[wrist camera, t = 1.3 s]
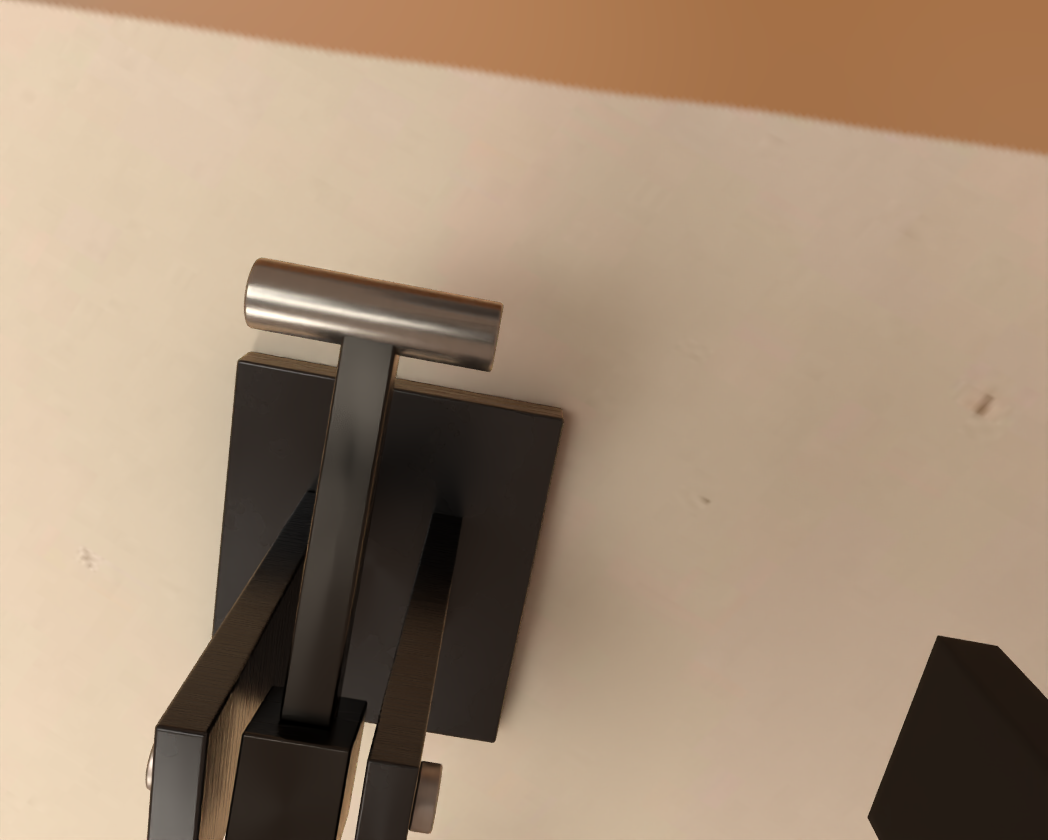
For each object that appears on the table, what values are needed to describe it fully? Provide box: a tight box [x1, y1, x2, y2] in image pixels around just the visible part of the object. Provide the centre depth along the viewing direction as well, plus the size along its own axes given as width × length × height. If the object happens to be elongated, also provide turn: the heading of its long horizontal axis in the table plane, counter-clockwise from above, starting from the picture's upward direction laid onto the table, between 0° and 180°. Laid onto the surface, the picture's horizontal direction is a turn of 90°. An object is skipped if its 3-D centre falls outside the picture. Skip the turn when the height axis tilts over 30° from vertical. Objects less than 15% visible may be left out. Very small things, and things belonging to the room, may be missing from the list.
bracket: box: [146, 352, 564, 840], centre depth 23 cm, size 12×10×13 cm
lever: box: [225, 258, 503, 840], centre depth 18 cm, size 12×5×2 cm, turn 169°
